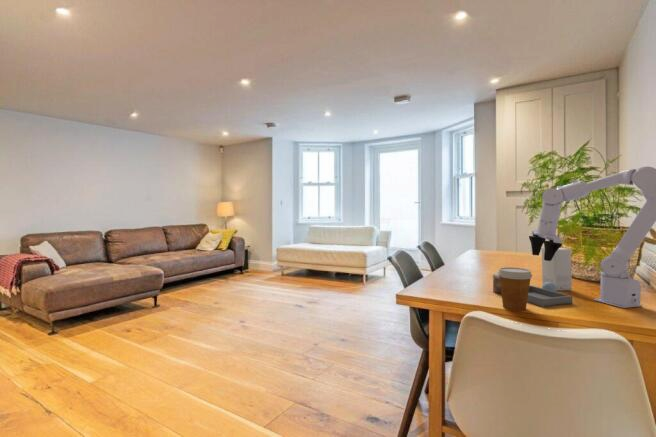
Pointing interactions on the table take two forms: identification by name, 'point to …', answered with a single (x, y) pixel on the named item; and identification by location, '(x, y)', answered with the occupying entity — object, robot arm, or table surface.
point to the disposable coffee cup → (514, 287)
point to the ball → (549, 286)
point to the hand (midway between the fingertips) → (541, 257)
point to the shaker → (496, 284)
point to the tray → (547, 297)
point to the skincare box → (558, 269)
